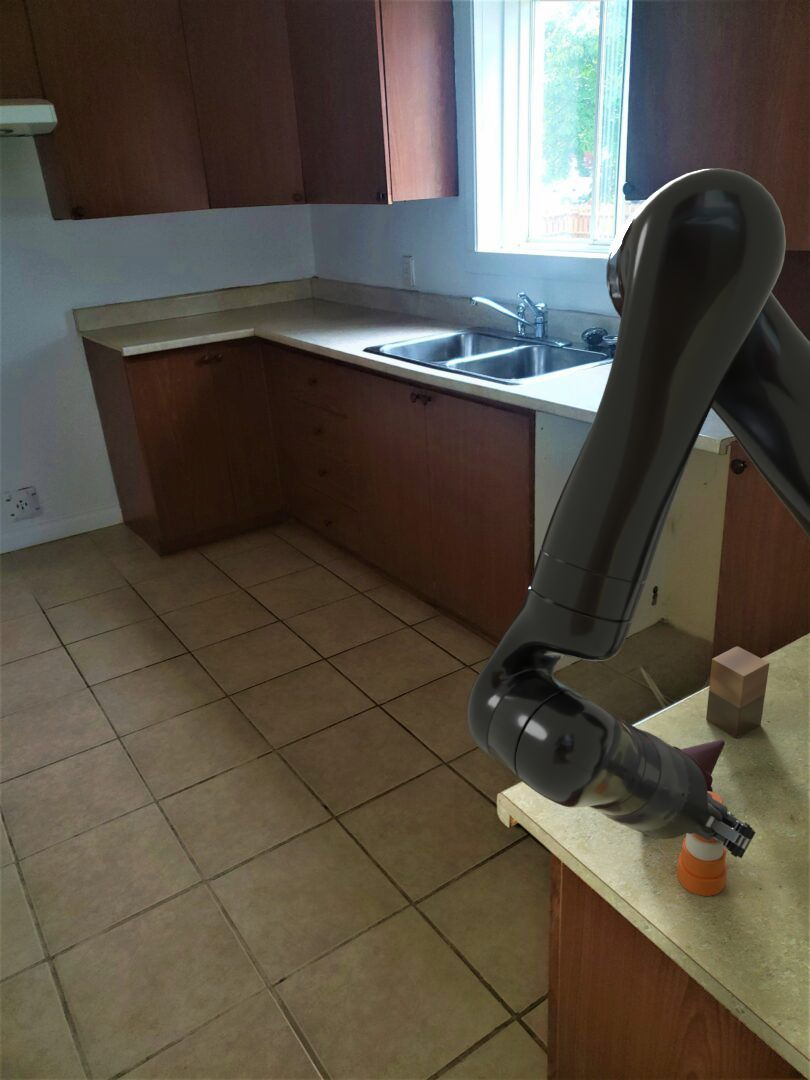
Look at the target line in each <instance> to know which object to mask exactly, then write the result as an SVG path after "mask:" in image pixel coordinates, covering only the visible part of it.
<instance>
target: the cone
mask: <svg viewBox="0 0 810 1080" xmlns="http://www.w3.org/2000/svg"><path fill="white" fill-rule="evenodd" d="M707 792H708V793H710V794H711V795H712V798H713V799H715V800H717V801H718V802H720V803H722V804H723V803H724V802H723V798H722V796H720V795H719V794H718V793H716V792H714V791H713V792H710V791H707ZM708 804H709V803H708ZM723 805H724V804H723ZM685 835H686V836H685V837H684V839H683V841H682V845H681V847H682V848H681V851H680V853H679V855H678V858H677V867H676V868H677V869H676V875H677V879H678V882H679V883H680V884H681V886H683V888H685V889H686V890H687V891H689V892H691V893H692V894H695V895H698V896H703V897H711V896H716V895H718V894H720V893H721V892H722V891H723V889H724V888H725V886H726V879H727V873H728V866H727V862H726V858H727V848H726V847H724V846H723V842H722V841H720V842H719V841H717V840H716V839H715V838H712V839H711V840H709V841H708V840H706V839H704V838H702V837H700V836H698V835H696V834H694V833H692V834H688V833H686V834H685Z"/></svg>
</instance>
